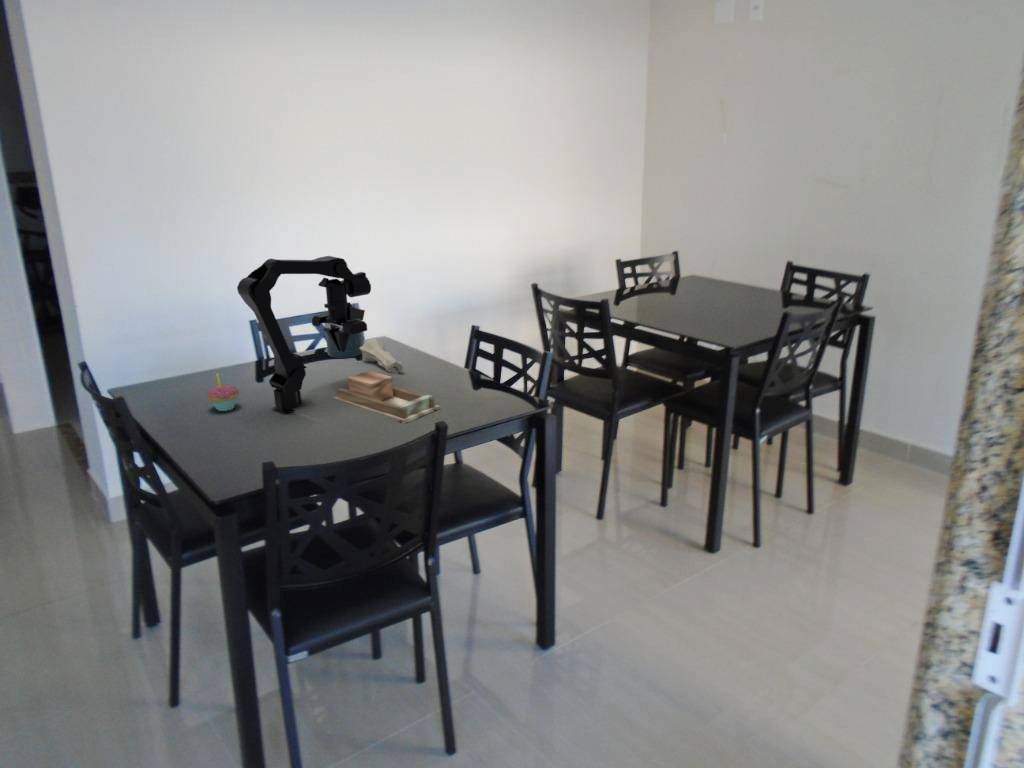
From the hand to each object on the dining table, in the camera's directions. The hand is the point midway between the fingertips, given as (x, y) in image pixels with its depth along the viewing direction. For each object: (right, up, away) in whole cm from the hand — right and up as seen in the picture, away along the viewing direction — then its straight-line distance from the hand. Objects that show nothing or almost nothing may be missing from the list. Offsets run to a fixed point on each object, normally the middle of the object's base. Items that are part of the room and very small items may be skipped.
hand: (341, 351), depth 221 cm
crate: (+10, -14, -3) cm, 17 cm away
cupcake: (-32, -17, -8) cm, 37 cm away
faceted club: (+7, -5, +28) cm, 29 cm away
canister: (-9, +1, +44) cm, 45 cm away
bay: (+14, -16, -7) cm, 22 cm away
